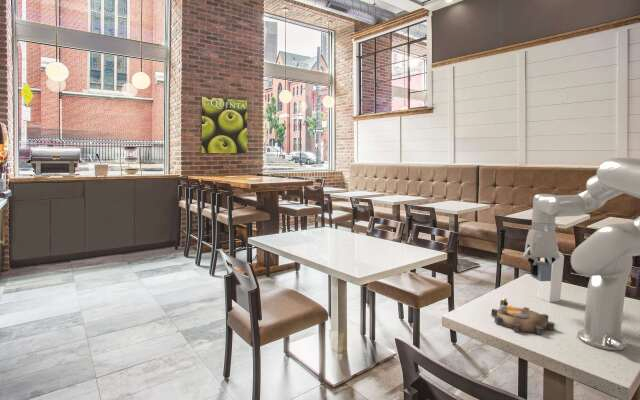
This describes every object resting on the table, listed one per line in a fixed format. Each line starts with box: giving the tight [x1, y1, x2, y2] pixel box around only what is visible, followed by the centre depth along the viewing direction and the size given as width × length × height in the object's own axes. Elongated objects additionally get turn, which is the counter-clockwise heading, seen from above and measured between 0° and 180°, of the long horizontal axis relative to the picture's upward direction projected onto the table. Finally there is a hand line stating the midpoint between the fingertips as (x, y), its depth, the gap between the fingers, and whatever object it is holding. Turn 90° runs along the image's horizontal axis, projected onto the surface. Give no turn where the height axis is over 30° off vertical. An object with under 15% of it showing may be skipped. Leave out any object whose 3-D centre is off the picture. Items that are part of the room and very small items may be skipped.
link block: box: [530, 260, 552, 281], centre depth 146 cm, size 6×4×6 cm, turn 3°
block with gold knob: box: [499, 298, 509, 306], centre depth 150 cm, size 2×2×4 cm
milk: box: [536, 246, 565, 303], centre depth 159 cm, size 6×6×22 cm
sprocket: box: [490, 304, 555, 335], centre depth 137 cm, size 20×20×4 cm
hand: (539, 274), depth 147 cm, fingers closed on link block, 3 cm apart
